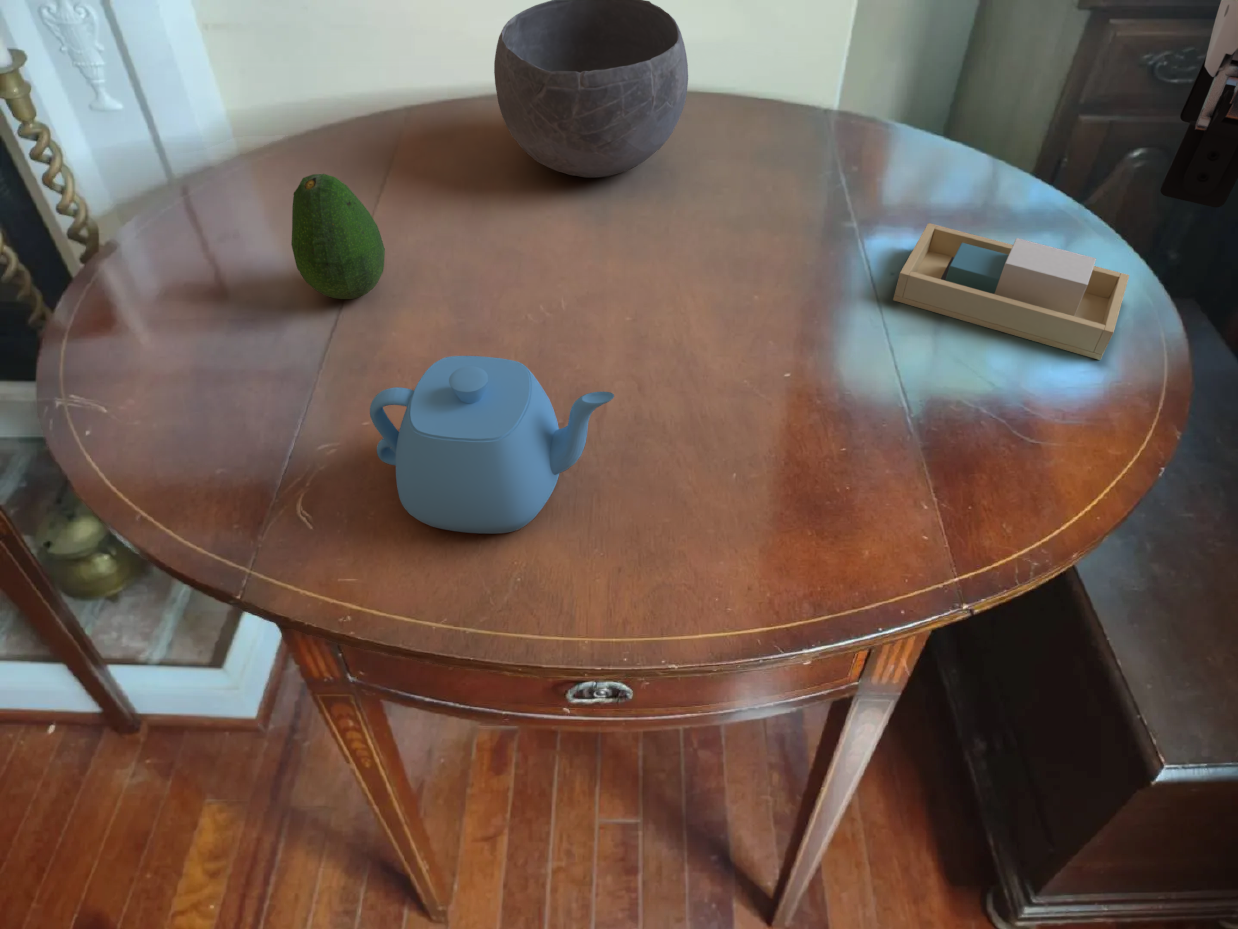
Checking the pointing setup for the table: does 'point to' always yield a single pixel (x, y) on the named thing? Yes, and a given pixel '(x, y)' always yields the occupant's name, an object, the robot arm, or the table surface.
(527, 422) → the teapot
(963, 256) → the two-tone stepped block
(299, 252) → the fruit
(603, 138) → the bowl
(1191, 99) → the robot arm
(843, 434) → the table surface
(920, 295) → the wooden tray
